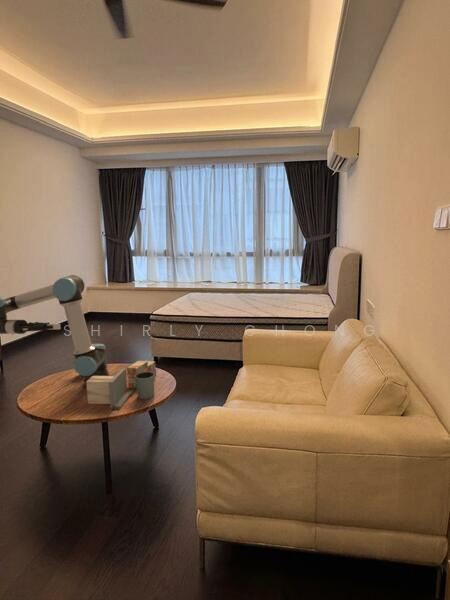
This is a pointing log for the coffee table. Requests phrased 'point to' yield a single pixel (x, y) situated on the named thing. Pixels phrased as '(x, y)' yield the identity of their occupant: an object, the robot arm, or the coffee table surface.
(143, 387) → the green cup
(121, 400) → the stop board
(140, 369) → the stack of blocks
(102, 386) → the ash block
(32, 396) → the coffee table surface
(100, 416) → the coffee table surface
